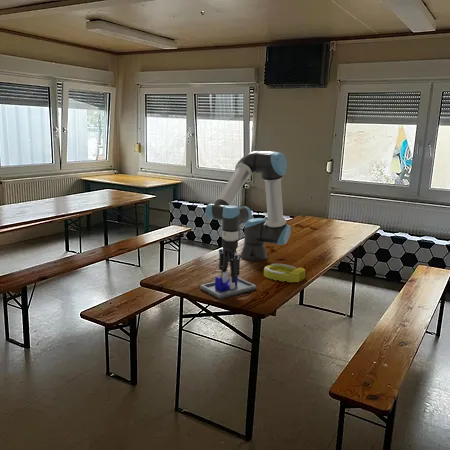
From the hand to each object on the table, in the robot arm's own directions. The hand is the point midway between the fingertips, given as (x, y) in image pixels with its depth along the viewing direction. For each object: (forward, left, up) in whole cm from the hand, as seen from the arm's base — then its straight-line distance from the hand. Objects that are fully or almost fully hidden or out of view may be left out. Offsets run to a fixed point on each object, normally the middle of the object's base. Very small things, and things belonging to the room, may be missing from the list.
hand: (228, 286), depth 215 cm
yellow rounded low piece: (-36, +1, -2) cm, 36 cm away
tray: (0, 0, -1) cm, 1 cm away
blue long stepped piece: (+1, 0, 0) cm, 1 cm away
